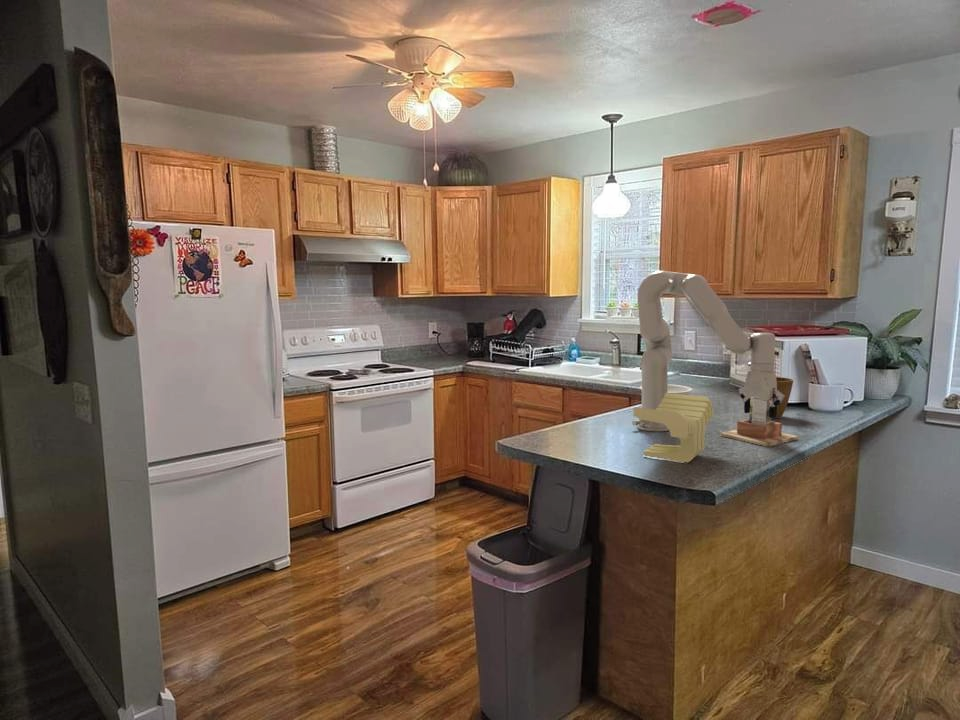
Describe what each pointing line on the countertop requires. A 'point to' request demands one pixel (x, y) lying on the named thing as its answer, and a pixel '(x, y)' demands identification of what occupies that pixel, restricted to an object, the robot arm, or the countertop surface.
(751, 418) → the syrup box
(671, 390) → the soup bowl
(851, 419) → the countertop surface
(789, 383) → the plant pot
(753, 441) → the terracotta box on board
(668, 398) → the slatted curved stool
